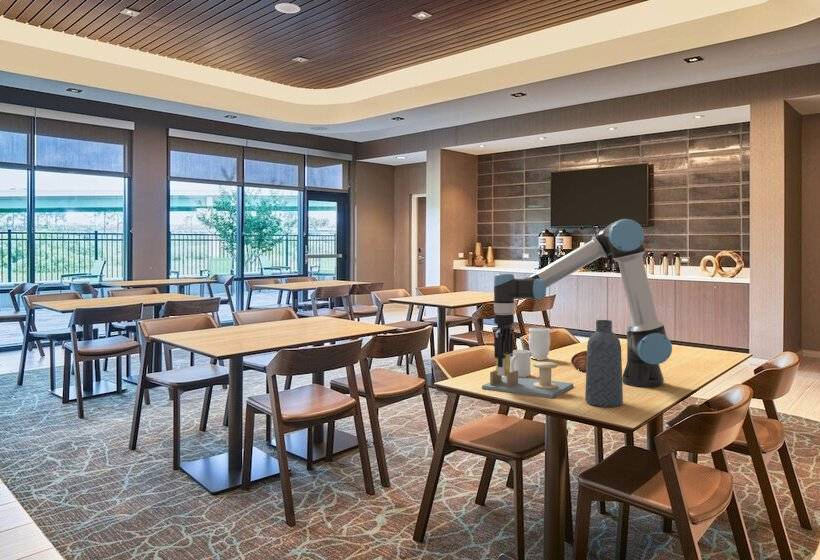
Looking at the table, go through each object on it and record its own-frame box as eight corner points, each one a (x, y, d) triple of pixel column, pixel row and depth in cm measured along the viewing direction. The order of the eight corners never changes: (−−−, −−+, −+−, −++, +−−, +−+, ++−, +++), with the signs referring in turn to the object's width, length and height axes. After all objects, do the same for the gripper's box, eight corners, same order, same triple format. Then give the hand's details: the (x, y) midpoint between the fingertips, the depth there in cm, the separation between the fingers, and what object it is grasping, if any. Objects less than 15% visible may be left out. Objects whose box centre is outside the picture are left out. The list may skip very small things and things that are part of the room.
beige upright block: (510, 374, 224) (510, 353, 223) (505, 376, 220) (505, 355, 220) (500, 373, 226) (500, 352, 225) (496, 374, 223) (496, 354, 222)
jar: (524, 358, 287) (524, 328, 286) (543, 356, 290) (543, 327, 289) (535, 361, 277) (535, 330, 276) (554, 360, 280) (554, 329, 279)
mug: (520, 379, 236) (519, 354, 236) (502, 377, 241) (502, 352, 241) (533, 375, 245) (533, 350, 245) (516, 372, 251) (516, 349, 250)
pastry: (613, 370, 254) (613, 352, 253) (583, 373, 249) (583, 355, 249) (590, 364, 270) (590, 347, 269) (561, 366, 265) (561, 349, 265)
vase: (608, 409, 189) (608, 323, 188) (577, 402, 198) (577, 320, 197) (630, 403, 196) (630, 320, 195) (599, 397, 206) (599, 318, 205)
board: (573, 386, 223) (573, 361, 223) (552, 398, 205) (552, 370, 204) (506, 378, 239) (506, 354, 238) (482, 388, 221) (481, 363, 220)
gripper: (504, 311, 231) (504, 369, 232) (484, 315, 217) (484, 376, 218) (522, 312, 227) (521, 371, 228) (503, 316, 213) (503, 379, 214)
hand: (503, 374), depth 223 cm, fingers closed on beige upright block, 4 cm apart
